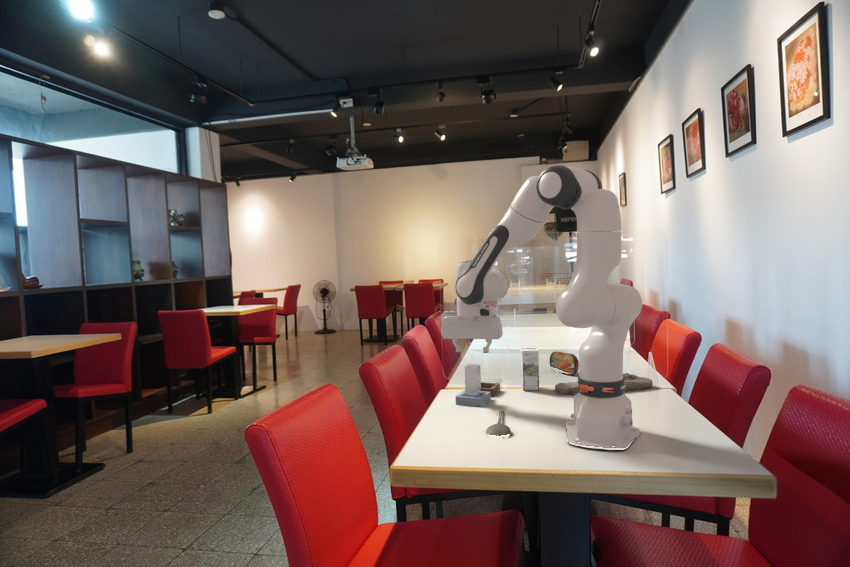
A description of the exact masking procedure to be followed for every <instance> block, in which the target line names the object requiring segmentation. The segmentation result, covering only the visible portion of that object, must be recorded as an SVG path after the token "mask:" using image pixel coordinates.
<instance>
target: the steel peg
mask: <svg viewBox="0 0 850 567" xmlns="http://www.w3.org/2000/svg"><path fill="white" fill-rule="evenodd" d="M481 382H482V378H481V364H471V363H470V364H469V363H468V364H467V365H465V366H464V388H465V389H464V390H465V394H466V397H478V398H480V397H481Z"/></svg>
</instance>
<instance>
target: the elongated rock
mask: <svg viewBox="0 0 850 567" xmlns="http://www.w3.org/2000/svg"><path fill="white" fill-rule="evenodd" d="M623 378H624V379H625V392H629V391H641V390H644V389H649V388H651V387H653V385H654V384H653V380H652V379H651V378H649V377H645V376H642V377H640V376H638V375H635V374H631V373H628V372H626V373H624V372H623ZM577 382H578V381H569V382H559V383H556V384H555V385H554V393H555V394H556V393H557V394H556V395H560V394H566V395H576V394H577V393H578V385H577Z"/></svg>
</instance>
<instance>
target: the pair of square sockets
mask: <svg viewBox="0 0 850 567" xmlns="http://www.w3.org/2000/svg"><path fill="white" fill-rule="evenodd" d="M500 386H501V384H500V383H498V382H497V383H496V382H483V381H481V397H480V398H478V397H466V394H465V389H464V390H463V391H462V392H460V393H459V394H457V395H456V396H455V405H459V406H460V405H461V406H469V405H474V406H473V407H481V406H482V407H484V406H485V405H486V404H488V402H490V401H491V400H492V399H491V397H492V398H493V397H494V396H496V395H497V393H499V392H500V391H501V387H500ZM484 404H485V405H484ZM483 405H484V406H483Z"/></svg>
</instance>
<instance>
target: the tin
mask: <svg viewBox="0 0 850 567" xmlns="http://www.w3.org/2000/svg"><path fill="white" fill-rule="evenodd" d="M549 367H550V368H551V367H553V368H557V369H559V370H562V371H564V372H567V373H569V374H570V375H569V376H573V375H572V374H574V375H575V374H577V373H578V371H579V358H578V357H577V356H576V355H575V354H574V353H571V352H570V353H569V352H563V351H553V352H552V353H551V354H550V356H549Z"/></svg>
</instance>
